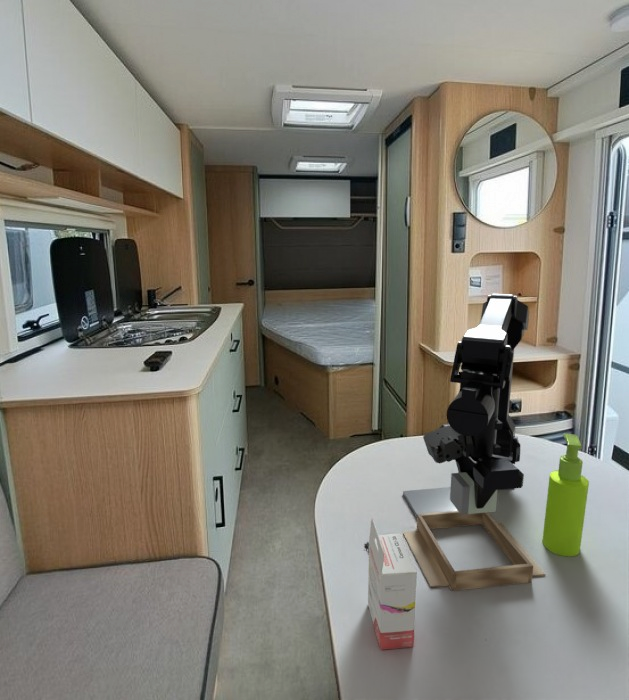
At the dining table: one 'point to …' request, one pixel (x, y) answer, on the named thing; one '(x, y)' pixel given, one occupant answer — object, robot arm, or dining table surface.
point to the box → (468, 495)
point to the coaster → (429, 500)
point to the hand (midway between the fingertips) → (472, 499)
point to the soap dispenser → (566, 503)
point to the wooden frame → (444, 574)
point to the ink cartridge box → (391, 590)
